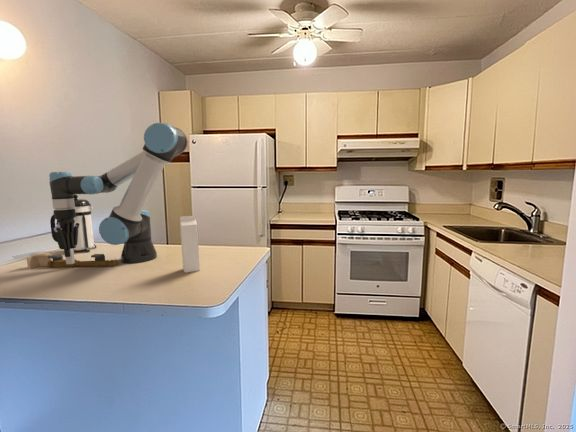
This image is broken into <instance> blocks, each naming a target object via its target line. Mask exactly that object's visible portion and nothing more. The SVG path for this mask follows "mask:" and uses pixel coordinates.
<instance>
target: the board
mask: <svg viewBox="0 0 576 432" xmlns="http://www.w3.org/2000/svg"><path fill="white" fill-rule="evenodd" d="M90 258H94V261H96V260H106V255H105V254H104V253H94V254H92V255H90ZM56 260H64V257H63V255H62V254H51V252H38V253H34V254H33V255H31V256H27V257H26V264H27V270H31V269H35V268H37V267H46V266H47V263H48V262H49V261H53V262H54V261H56ZM47 267H48V266H47Z"/></svg>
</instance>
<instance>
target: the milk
mask: <svg viewBox="0 0 576 432" xmlns="http://www.w3.org/2000/svg"><path fill="white" fill-rule="evenodd" d="M196 217H197V216H196V215H187V216H186V215H183V216H180V217H179V228H180V242H181V244H180V245H181V258H182V269H183V273H193V272H198V271H201V269H200V267H201V266H200V252H199V250H200V249H199V235H198V233H199V231H198V223H197V219H196Z"/></svg>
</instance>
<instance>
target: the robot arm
mask: <svg viewBox="0 0 576 432" xmlns="http://www.w3.org/2000/svg"><path fill="white" fill-rule="evenodd" d="M143 141H144V145H143V147H142V151H141V152H140V153H138V154H136V155H135V156H132V157H131V158H129V159H127V160H125V161H124V162H122V163H120V164H119V165H117V166H114V167H113V168H111V169H110V170H108V171H106V172H104V173H103V174H101V175H78V176H73V175H72V173H71V172H69V171H51V172H49V175H48V176H49V182H48V183H49V187H50V194H51V202H52V208H53V213H52V214H54V218H55V220H56V222H55V228H52V230H53V232H54V233H55V236H56V239H57V245H58V248H59V250H63V252H64V257H65V260H66V264H74V263H75V250H74V248H76V246H77V241H78V228H79V223H75V220H74V218H75V217H76V212H75V209H73V208H74V207H75V203H74V195H91V196H92V195H97V194H98V195H99V194H104V193H105V194H107V193H112V192H115V191H116V190H117V189H118V187H119V186H120V185H122V184H124V183H126V182H128V181H129V180H131V181H130V183H129V185H128V187H127V189H126V191H125V193H124V195H123V197H122V199H121V200H120V203H119V205H117V206H113V207H112V209H111V212H110V214H109V216H107V217H105V218H104V219H103V220H102V221H101V222H100V223H99V226H98V231H99V234H100V237H101V239H102V240H104V242H105V243H107V244H108V245H113V246H119V245H123V247H122V251H121V255H120V259H121V262H123V263H125V264H126V263H127V264H128V263H129V264H130V263H131V264H132V263H133V264H134V263H143V262H147V261H152V260H154V259H156V258H157V257H158V255H157V252H158V251H157V250H156V247H155V246H154V243H153V241H152V240H153V239H152V231H151V230H152V229H151V217H150V212H149V211H148V210H146V209H144V207H145V205H146V203H147V201H148V200H149V197H150V196H151V193H152V191H153V189H155V186H156V183H157V181H158V179H159V177H160V175H161V174H162V171H163V169H164V167H165V166H166V165H169V164H170V163H171V162H172V160H173V159H174V158H175V157H177V156H179V155H181V154H183V153H184V152H185V151H186V149H187V147H188V138H187V135H186V134H185V132H184V131H182V129H180V128H178V127H175V126H173V125H171V124H168V123H165V122H156V123H152V124H150V125H149V126H148V127H147V128H146V129H145V131H144V134H143Z"/></svg>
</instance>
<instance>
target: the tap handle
mask: <svg viewBox="0 0 576 432" xmlns="http://www.w3.org/2000/svg"><path fill="white" fill-rule="evenodd" d="M74 259H75V258H74ZM116 266H118V261H117V260H116V259H110V260H109V259H107V260H106V259H105V260H96V261H95V260H83V261H82V260H77V259H75V263H74V264H66V259H63V260H56V261H54V262H53V260H52V261H49V262H48V263H47V267H48V268H53V267H54V269H59V268H60V269H64V268H65V269H67V268H68V269H69V268H71V269H72V268H75V267H76V268H77V267H94V268H95V267H98V268H99V267H101V268H102V267H116Z"/></svg>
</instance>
